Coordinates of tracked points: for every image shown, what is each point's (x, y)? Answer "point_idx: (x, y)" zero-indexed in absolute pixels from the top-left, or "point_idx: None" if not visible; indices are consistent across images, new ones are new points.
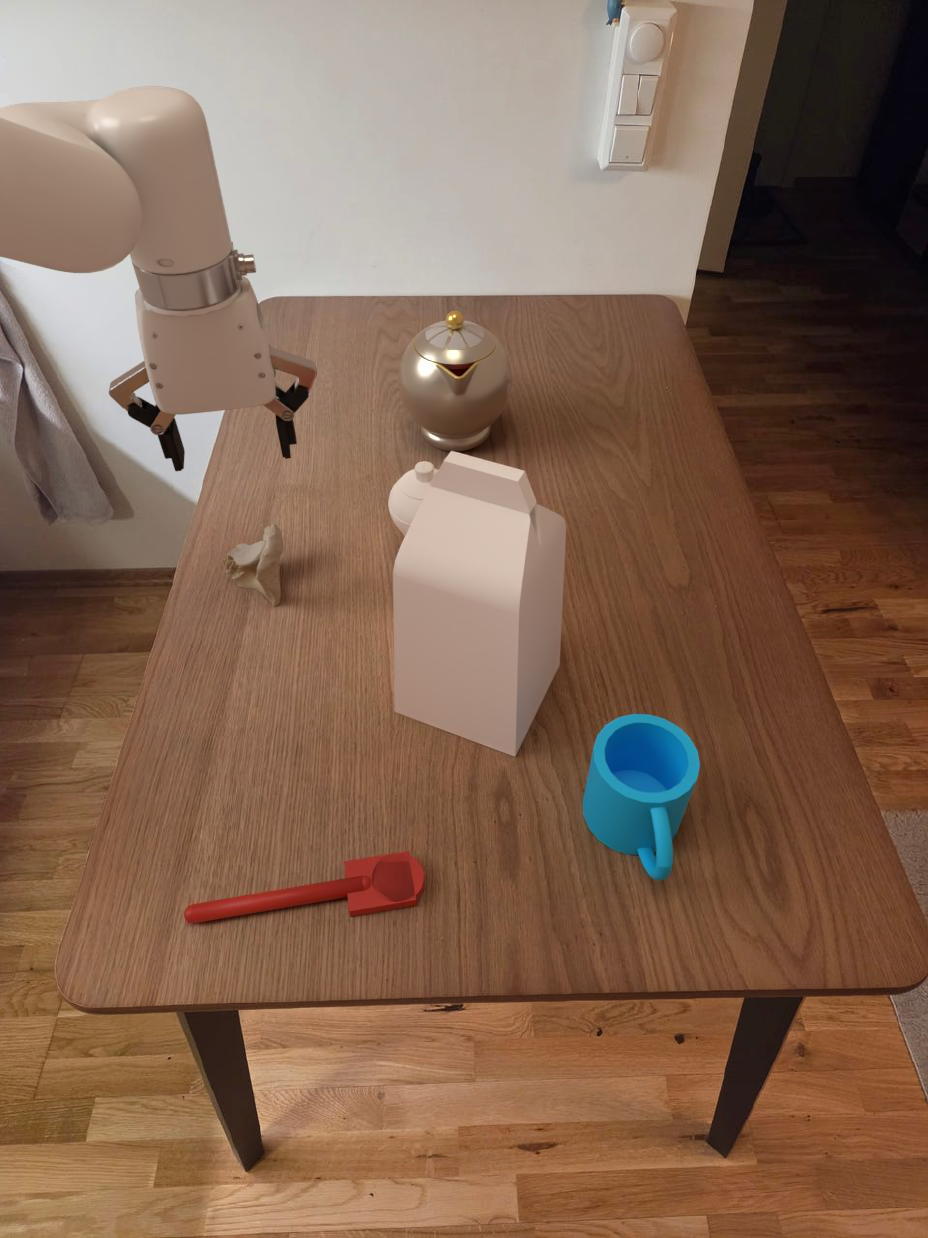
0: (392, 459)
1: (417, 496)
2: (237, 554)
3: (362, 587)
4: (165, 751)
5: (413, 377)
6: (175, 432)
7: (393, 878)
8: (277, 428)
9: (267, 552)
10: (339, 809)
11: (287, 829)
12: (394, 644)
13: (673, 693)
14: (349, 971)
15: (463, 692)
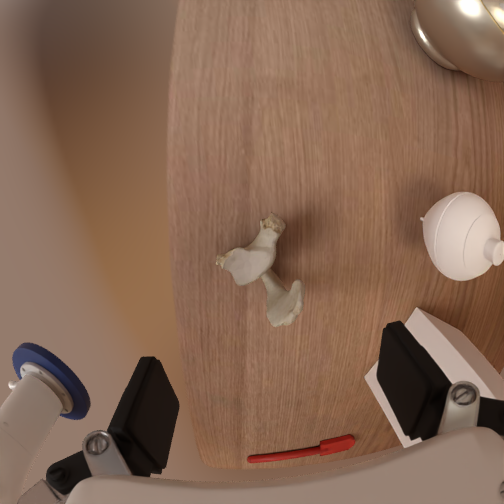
0: (387, 55)
1: (473, 272)
2: (234, 265)
3: (361, 261)
4: (210, 403)
5: (469, 23)
6: (154, 440)
7: (341, 446)
8: (403, 431)
9: (288, 324)
10: (320, 424)
11: (292, 433)
12: (392, 426)
13: (489, 338)
14: (316, 461)
15: None
